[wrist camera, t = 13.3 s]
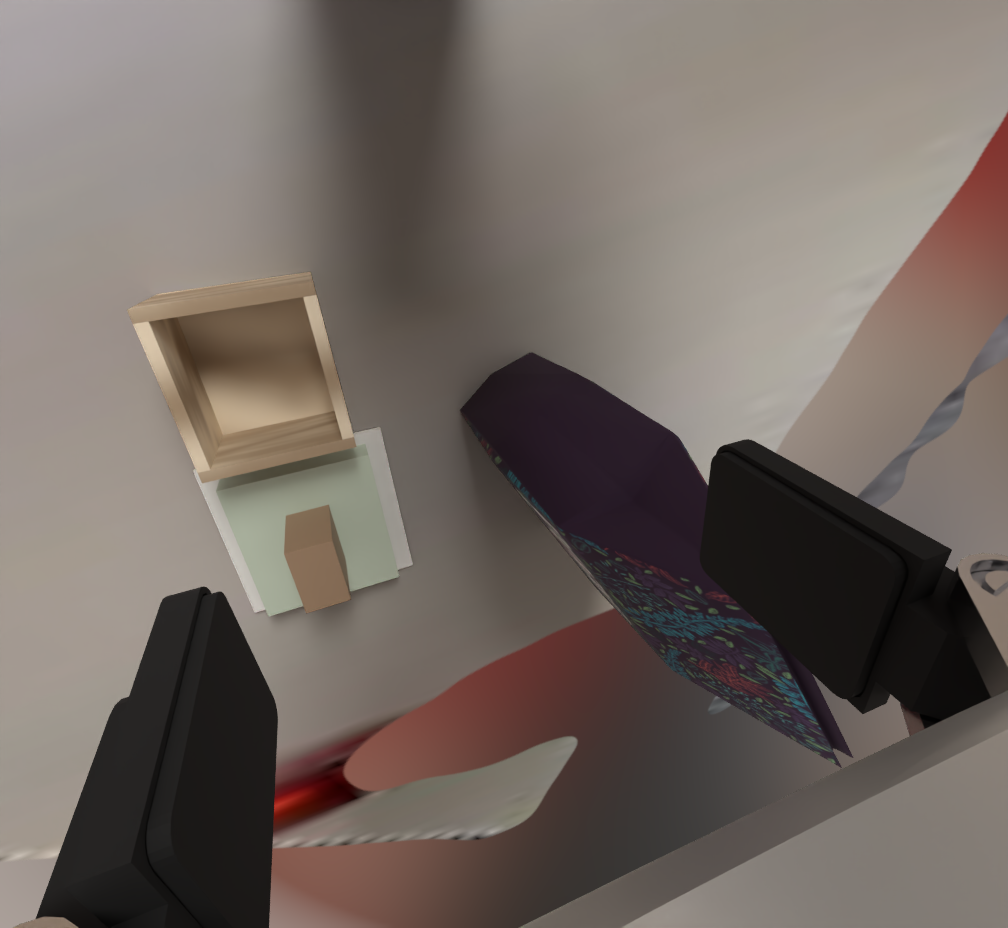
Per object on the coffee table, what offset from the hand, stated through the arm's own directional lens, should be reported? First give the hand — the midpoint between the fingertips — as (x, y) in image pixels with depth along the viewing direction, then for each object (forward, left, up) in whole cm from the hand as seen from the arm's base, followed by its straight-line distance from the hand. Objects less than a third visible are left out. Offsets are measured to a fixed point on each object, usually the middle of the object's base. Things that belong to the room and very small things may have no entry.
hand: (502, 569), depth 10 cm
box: (+2, -7, -30) cm, 31 cm away
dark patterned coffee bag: (+13, +13, -31) cm, 36 cm away
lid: (+15, -7, -30) cm, 34 cm away
